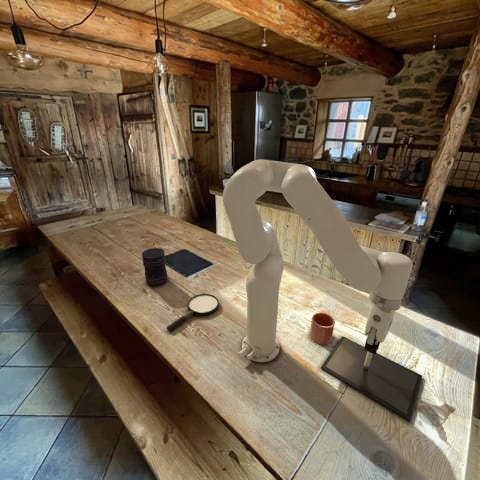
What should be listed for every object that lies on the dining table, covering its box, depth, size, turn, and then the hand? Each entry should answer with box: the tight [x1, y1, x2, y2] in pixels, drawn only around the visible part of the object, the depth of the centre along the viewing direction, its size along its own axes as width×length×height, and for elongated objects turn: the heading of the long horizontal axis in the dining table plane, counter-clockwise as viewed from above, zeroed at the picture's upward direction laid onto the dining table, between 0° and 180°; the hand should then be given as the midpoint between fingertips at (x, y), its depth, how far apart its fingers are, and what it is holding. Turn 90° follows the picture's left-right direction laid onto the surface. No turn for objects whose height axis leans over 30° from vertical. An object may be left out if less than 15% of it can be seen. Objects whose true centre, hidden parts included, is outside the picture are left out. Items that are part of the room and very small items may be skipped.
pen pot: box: [309, 312, 336, 345], centre depth 92 cm, size 7×8×8 cm
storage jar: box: [141, 247, 168, 288], centre depth 122 cm, size 10×10×15 cm
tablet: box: [320, 335, 423, 422], centre depth 80 cm, size 17×24×1 cm
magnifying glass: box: [166, 293, 220, 333], centre depth 104 cm, size 12×24×2 cm, turn 143°
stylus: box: [364, 338, 376, 369], centre depth 78 cm, size 1×1×13 cm
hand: (371, 349), depth 78 cm, fingers closed on stylus, 1 cm apart
